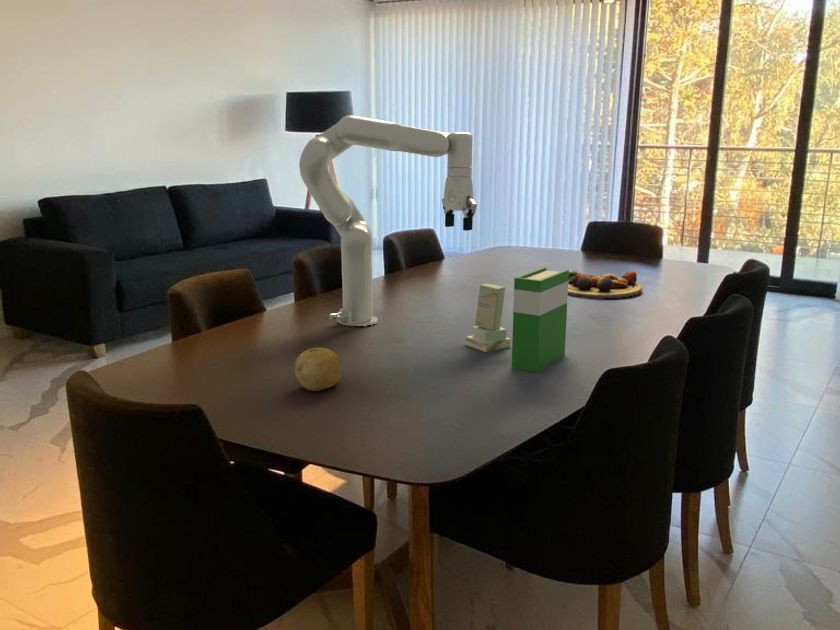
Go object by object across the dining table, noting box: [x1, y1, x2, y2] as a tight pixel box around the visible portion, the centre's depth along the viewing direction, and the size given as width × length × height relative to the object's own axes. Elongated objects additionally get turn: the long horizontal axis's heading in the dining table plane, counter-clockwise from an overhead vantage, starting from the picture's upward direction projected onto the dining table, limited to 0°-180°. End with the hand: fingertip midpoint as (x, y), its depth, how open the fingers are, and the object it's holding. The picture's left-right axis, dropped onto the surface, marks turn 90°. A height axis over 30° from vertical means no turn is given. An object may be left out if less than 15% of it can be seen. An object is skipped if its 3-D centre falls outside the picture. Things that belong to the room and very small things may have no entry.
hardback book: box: [511, 266, 570, 373], centre depth 207 cm, size 18×7×24 cm, turn 147°
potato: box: [294, 347, 342, 392], centre depth 187 cm, size 10×12×10 cm
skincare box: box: [475, 282, 506, 330], centre depth 221 cm, size 6×4×12 cm
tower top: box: [471, 326, 507, 343], centre depth 222 cm, size 7×7×3 cm
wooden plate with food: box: [568, 269, 643, 299], centre depth 296 cm, size 32×32×8 cm
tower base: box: [465, 335, 511, 353], centre depth 224 cm, size 9×9×3 cm
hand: (458, 228), depth 244 cm, fingers open, 9 cm apart
